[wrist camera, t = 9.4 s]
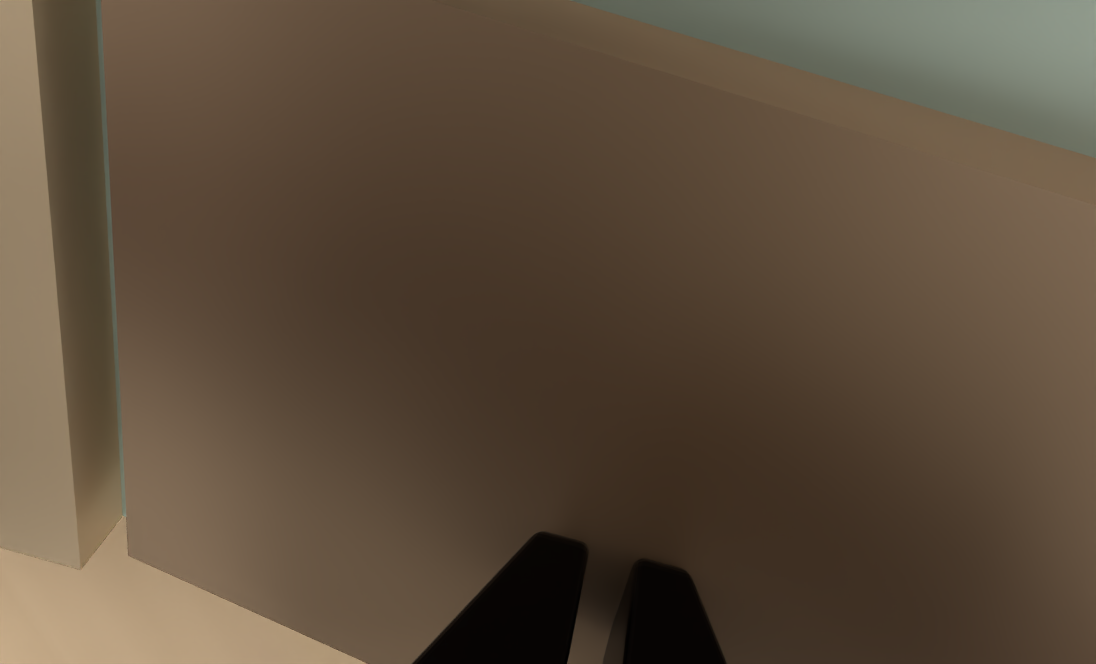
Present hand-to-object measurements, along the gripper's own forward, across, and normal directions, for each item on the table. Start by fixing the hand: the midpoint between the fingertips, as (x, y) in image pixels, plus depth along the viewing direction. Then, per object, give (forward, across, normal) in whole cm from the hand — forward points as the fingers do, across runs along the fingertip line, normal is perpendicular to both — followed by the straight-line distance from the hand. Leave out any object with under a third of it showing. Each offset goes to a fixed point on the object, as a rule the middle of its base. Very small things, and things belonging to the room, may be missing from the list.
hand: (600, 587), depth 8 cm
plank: (+1, 0, -1) cm, 1 cm away
